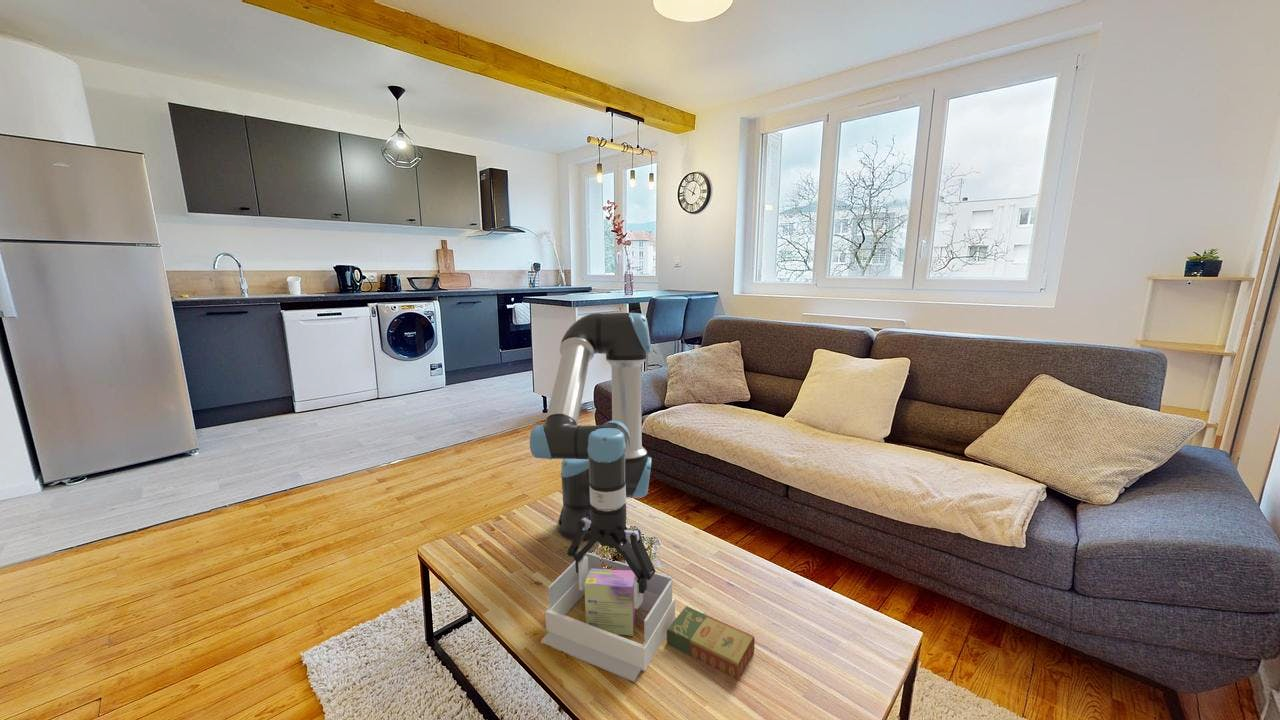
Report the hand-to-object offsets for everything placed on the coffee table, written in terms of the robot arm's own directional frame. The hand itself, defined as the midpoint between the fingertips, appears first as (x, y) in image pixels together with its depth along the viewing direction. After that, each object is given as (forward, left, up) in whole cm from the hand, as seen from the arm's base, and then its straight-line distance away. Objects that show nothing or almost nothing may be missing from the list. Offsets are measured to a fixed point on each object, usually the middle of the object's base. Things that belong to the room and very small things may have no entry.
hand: (610, 595), depth 100 cm
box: (0, 0, -8) cm, 8 cm away
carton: (+21, +3, -8) cm, 23 cm away
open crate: (0, -1, -7) cm, 8 cm away
